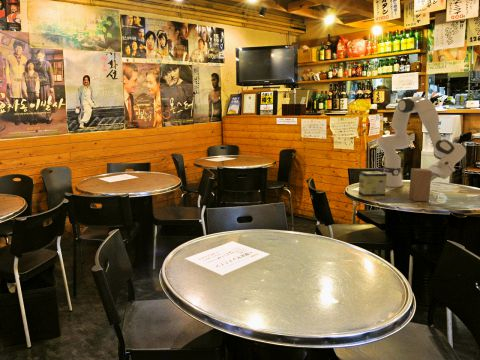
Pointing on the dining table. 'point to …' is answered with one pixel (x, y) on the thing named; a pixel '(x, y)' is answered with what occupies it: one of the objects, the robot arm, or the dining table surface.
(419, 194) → the wooden block
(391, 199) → the mat
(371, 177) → the protein box
